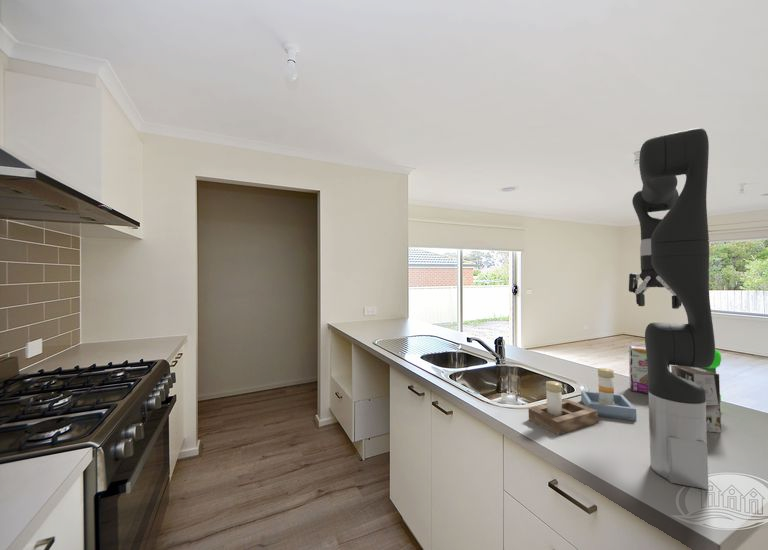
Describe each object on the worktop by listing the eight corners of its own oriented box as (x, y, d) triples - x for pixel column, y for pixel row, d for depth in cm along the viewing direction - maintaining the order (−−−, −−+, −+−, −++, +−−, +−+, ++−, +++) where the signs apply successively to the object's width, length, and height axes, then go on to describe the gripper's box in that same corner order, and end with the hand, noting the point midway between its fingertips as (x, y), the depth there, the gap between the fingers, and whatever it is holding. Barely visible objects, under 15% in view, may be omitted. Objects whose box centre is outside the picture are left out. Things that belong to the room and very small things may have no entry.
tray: (636, 420, 92) (636, 409, 92) (589, 414, 97) (589, 403, 97) (622, 405, 104) (622, 394, 104) (581, 400, 108) (581, 390, 108)
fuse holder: (566, 409, 101) (566, 398, 101) (597, 422, 92) (597, 410, 92) (528, 419, 95) (528, 408, 95) (558, 434, 85) (557, 422, 85)
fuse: (563, 427, 89) (562, 386, 89) (547, 425, 91) (546, 384, 91) (561, 421, 93) (560, 381, 93) (546, 419, 95) (545, 380, 95)
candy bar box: (631, 391, 115) (630, 348, 115) (629, 387, 119) (628, 345, 120) (671, 397, 109) (669, 351, 109) (667, 392, 113) (666, 348, 114)
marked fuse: (616, 410, 98) (615, 372, 98) (600, 408, 99) (599, 371, 99) (612, 404, 102) (611, 368, 102) (597, 403, 103) (596, 367, 103)
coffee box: (722, 433, 84) (721, 374, 85) (695, 431, 86) (693, 373, 86) (696, 418, 93) (694, 365, 94) (671, 416, 95) (670, 364, 95)
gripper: (622, 255, 98) (624, 306, 98) (679, 251, 85) (681, 310, 85) (636, 255, 101) (638, 305, 101) (693, 252, 88) (695, 308, 88)
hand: (657, 307), depth 93 cm, fingers open, 8 cm apart
